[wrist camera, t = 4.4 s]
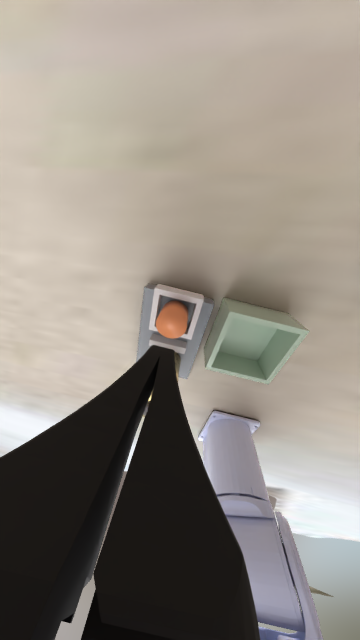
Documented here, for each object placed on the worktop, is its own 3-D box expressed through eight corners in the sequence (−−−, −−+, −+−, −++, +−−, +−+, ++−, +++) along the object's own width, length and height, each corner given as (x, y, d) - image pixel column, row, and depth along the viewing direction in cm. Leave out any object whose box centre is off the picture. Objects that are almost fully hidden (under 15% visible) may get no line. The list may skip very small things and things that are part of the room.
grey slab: (186, 375, 22) (184, 393, 19) (139, 363, 22) (131, 380, 19) (215, 293, 16) (218, 303, 13) (149, 276, 16) (140, 284, 13)
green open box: (257, 361, 19) (268, 384, 16) (204, 348, 19) (205, 368, 16) (288, 313, 16) (309, 331, 13) (223, 297, 16) (229, 311, 13)
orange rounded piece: (185, 327, 15) (182, 341, 13) (160, 321, 15) (153, 334, 13) (191, 304, 14) (190, 315, 12) (164, 297, 14) (158, 307, 12)
